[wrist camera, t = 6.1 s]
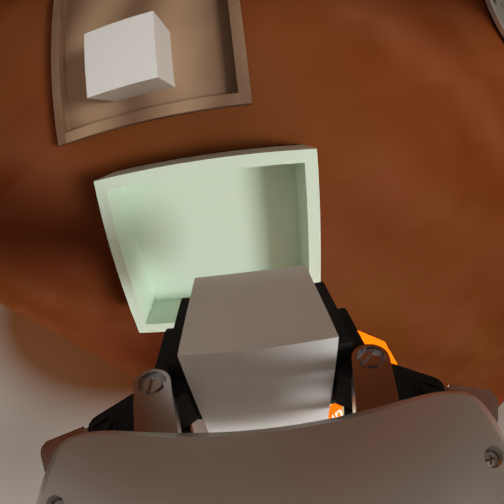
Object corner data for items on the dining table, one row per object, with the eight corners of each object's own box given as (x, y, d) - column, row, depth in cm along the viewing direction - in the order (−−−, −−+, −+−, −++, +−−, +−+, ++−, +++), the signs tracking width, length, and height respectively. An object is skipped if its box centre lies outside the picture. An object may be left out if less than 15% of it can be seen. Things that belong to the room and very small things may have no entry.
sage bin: (302, 144, 20) (316, 148, 16) (308, 288, 25) (319, 315, 21) (116, 170, 20) (93, 181, 16) (151, 304, 25) (139, 332, 21)
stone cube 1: (305, 264, 12) (338, 336, 8) (306, 346, 14) (327, 421, 9) (194, 277, 12) (177, 355, 8) (213, 357, 14) (209, 434, 9)
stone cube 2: (169, 32, 15) (153, 10, 11) (174, 87, 17) (158, 77, 13) (111, 48, 15) (84, 34, 11) (116, 101, 17) (87, 98, 13)
